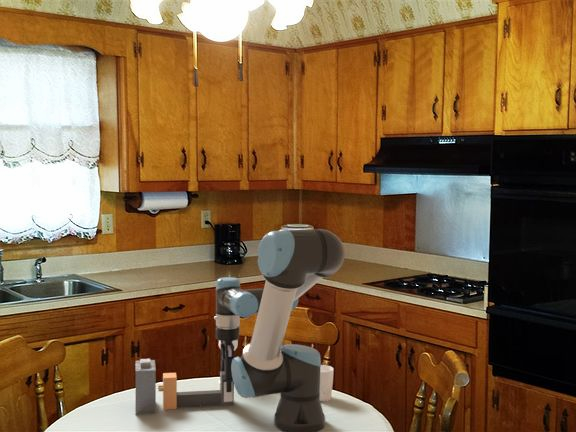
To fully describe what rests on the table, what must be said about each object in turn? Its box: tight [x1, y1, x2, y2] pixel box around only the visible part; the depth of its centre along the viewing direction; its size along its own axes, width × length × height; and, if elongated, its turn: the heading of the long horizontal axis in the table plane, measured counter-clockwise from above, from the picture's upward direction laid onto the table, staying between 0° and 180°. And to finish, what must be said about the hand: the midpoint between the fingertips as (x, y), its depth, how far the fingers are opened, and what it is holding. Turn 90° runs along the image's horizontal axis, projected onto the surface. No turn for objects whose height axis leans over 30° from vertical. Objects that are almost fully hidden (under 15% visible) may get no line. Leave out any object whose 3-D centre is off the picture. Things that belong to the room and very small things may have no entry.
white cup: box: [320, 364, 335, 402], centre depth 237 cm, size 8×8×10 cm
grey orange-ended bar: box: [158, 370, 235, 411], centre depth 229 cm, size 24×5×10 cm, turn 102°
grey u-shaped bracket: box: [135, 358, 157, 415], centre depth 225 cm, size 6×11×15 cm, turn 12°
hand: (226, 396), depth 231 cm, fingers open, 7 cm apart
